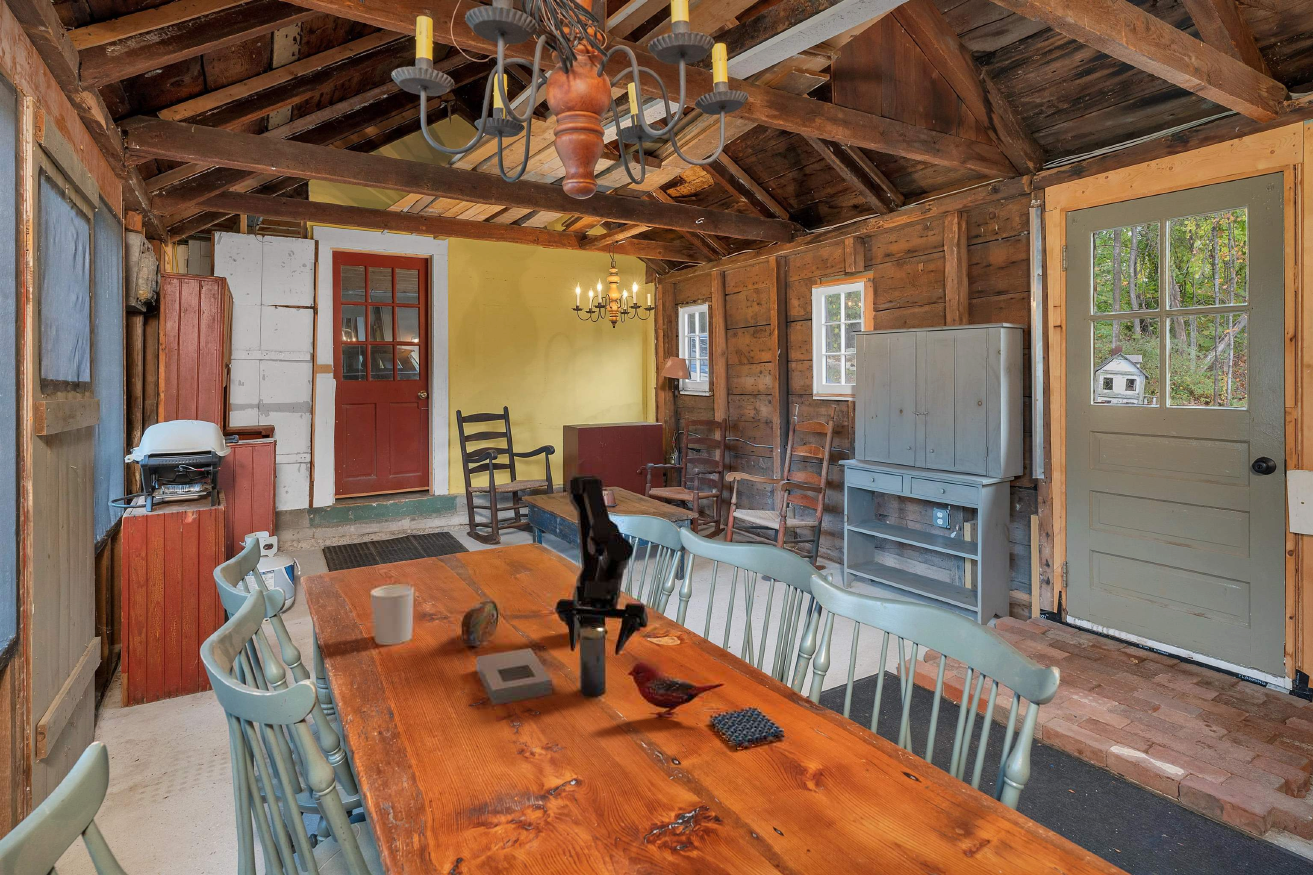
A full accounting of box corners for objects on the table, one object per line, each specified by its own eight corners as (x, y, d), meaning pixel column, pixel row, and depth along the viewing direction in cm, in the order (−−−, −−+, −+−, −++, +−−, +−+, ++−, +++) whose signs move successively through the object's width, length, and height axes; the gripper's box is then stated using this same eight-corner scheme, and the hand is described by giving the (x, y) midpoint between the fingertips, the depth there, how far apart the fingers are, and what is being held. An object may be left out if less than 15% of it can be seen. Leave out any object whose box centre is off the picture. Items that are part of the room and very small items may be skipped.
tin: (471, 652, 156) (471, 616, 155) (459, 651, 156) (458, 615, 156) (499, 629, 170) (499, 596, 170) (488, 628, 171) (487, 595, 170)
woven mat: (735, 755, 112) (735, 743, 112) (706, 725, 122) (706, 714, 122) (788, 742, 116) (788, 730, 116) (756, 714, 126) (756, 704, 126)
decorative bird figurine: (627, 711, 126) (627, 659, 126) (723, 712, 126) (723, 660, 125) (626, 719, 124) (626, 665, 123) (724, 720, 123) (724, 666, 122)
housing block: (530, 661, 150) (530, 648, 150) (552, 693, 134) (552, 679, 134) (476, 670, 145) (476, 656, 145) (492, 705, 129) (492, 690, 129)
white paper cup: (423, 634, 167) (422, 586, 166) (396, 648, 157) (394, 598, 157) (391, 629, 170) (389, 582, 169) (362, 643, 161) (360, 593, 160)
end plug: (600, 683, 138) (600, 621, 138) (609, 694, 134) (609, 629, 133) (576, 688, 136) (576, 625, 135) (584, 698, 132) (584, 633, 131)
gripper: (557, 561, 142) (539, 631, 132) (645, 565, 138) (632, 638, 128) (570, 587, 150) (553, 655, 140) (652, 592, 147) (641, 662, 137)
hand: (594, 652), depth 136 cm, fingers open, 9 cm apart
